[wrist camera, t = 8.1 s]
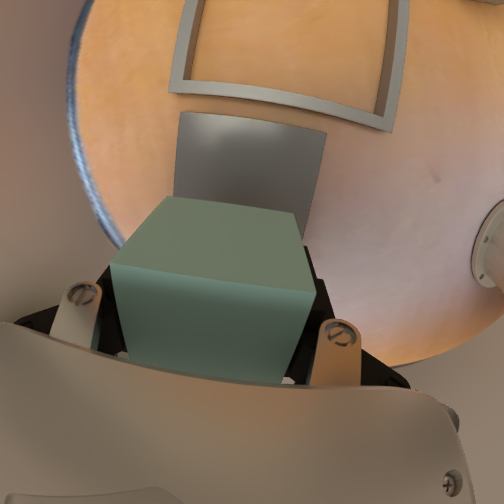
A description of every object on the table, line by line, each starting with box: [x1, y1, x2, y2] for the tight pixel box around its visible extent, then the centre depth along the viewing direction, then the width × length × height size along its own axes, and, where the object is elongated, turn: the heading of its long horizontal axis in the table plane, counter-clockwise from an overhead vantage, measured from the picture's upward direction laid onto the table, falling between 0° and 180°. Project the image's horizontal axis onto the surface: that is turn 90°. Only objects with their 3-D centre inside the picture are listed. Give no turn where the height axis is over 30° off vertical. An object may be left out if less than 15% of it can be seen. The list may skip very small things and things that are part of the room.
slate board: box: [173, 112, 327, 240], centre depth 22 cm, size 11×11×2 cm
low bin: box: [168, 0, 410, 133], centre depth 14 cm, size 17×17×2 cm
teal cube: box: [109, 196, 316, 384], centre depth 10 cm, size 5×5×5 cm
